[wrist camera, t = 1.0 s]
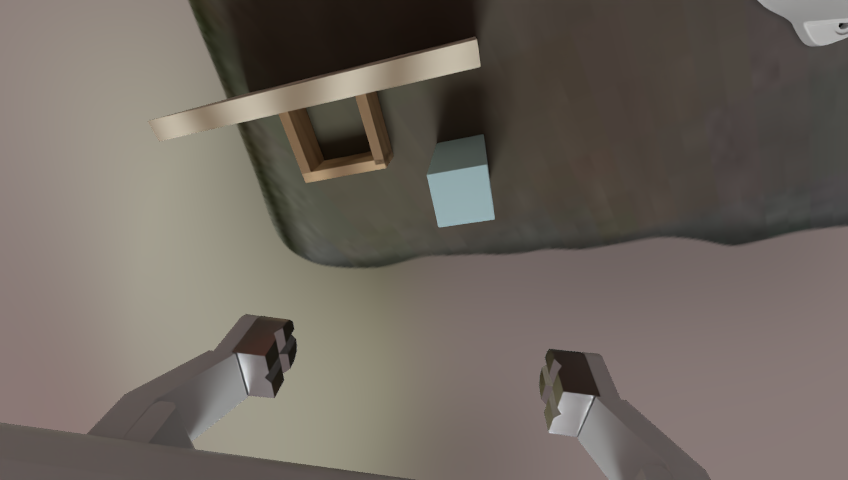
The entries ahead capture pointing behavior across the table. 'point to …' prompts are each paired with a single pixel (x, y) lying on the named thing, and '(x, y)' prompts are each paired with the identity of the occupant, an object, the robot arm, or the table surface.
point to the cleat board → (322, 90)
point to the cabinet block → (461, 182)
